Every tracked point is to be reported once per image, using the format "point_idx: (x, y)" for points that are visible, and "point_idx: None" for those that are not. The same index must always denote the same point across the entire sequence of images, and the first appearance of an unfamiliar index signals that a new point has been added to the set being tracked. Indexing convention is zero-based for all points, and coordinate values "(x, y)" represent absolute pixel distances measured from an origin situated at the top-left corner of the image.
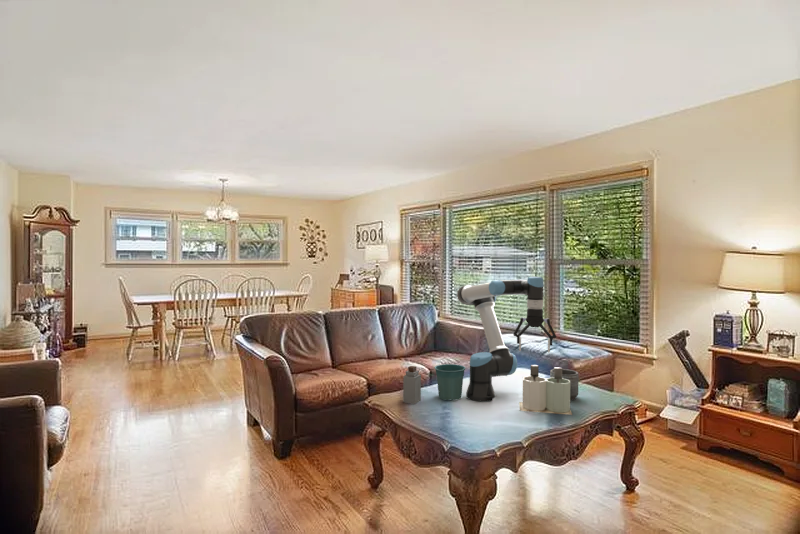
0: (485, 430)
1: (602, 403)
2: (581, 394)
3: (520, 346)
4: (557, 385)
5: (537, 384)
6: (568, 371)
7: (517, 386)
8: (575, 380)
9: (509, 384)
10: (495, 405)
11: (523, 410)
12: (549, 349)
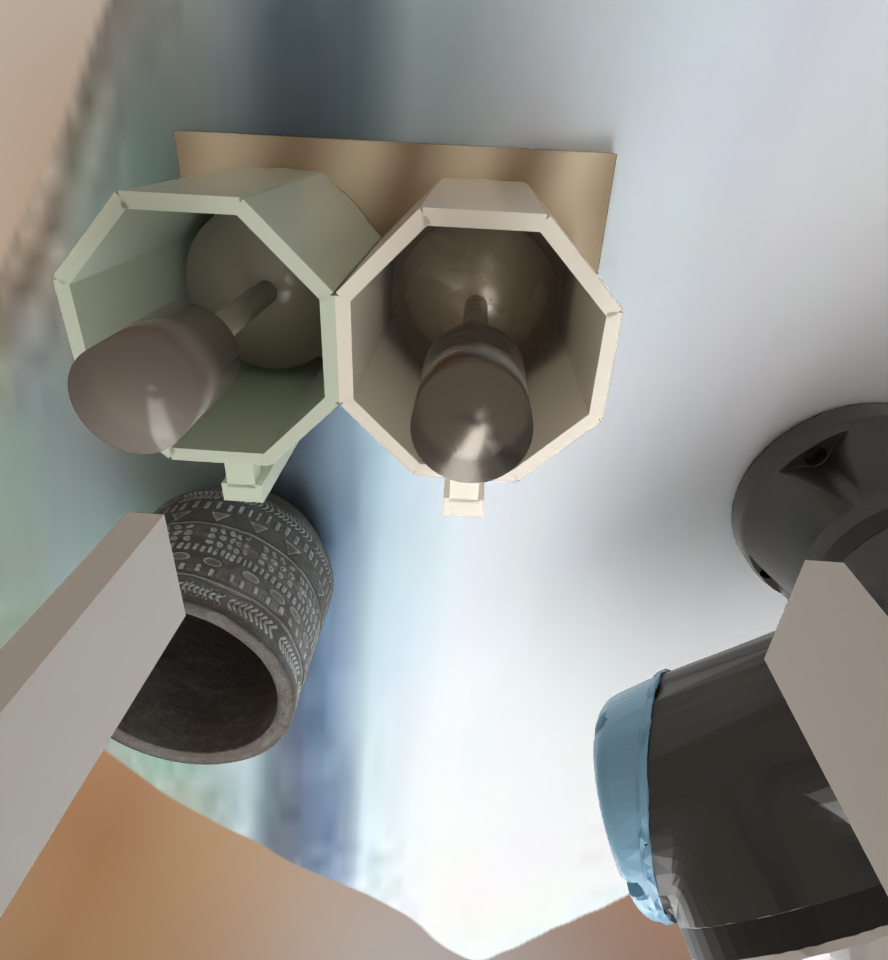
0: None
1: (15, 508)
2: None
3: (875, 642)
4: (208, 193)
5: (452, 204)
6: (152, 732)
7: (525, 734)
8: None
9: (569, 759)
10: (775, 329)
11: (581, 166)
12: (95, 557)
